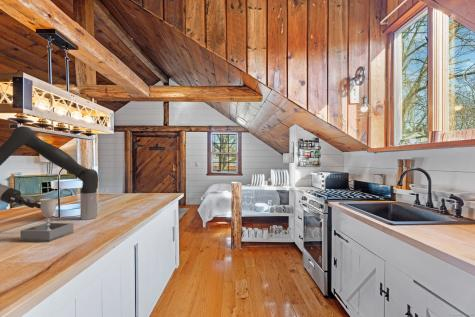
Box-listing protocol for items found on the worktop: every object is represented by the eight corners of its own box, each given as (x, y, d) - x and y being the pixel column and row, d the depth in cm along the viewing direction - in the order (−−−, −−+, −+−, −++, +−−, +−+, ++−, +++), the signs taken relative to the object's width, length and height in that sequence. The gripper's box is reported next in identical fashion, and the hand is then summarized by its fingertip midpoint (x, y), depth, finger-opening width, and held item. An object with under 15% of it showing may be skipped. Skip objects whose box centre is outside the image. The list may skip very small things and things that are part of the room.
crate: (47, 231, 131) (47, 222, 131) (73, 232, 130) (73, 223, 130) (20, 240, 116) (20, 230, 116) (49, 241, 115) (49, 231, 115)
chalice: (40, 237, 118) (41, 200, 118) (36, 235, 122) (37, 199, 122) (58, 234, 124) (59, 198, 124) (54, 231, 128) (54, 197, 128)
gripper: (3, 185, 120) (36, 199, 123) (18, 189, 134) (48, 201, 137) (-8, 199, 118) (26, 213, 121) (8, 201, 131) (39, 213, 134)
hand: (37, 206), depth 129 cm, fingers open, 8 cm apart
